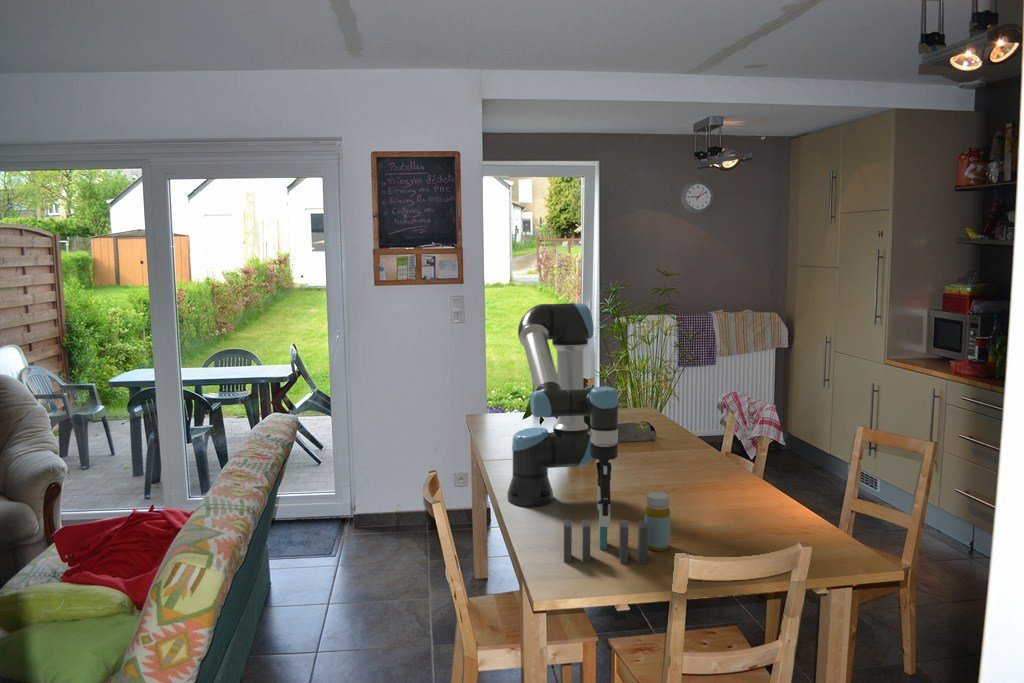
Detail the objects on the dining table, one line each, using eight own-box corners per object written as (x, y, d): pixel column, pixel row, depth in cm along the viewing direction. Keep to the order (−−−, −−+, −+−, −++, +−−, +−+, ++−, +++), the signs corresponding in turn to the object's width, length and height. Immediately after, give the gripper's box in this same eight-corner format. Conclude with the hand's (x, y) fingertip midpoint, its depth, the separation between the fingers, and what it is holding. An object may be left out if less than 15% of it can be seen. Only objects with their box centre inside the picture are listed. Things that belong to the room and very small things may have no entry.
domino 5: (639, 563, 203) (639, 527, 202) (637, 556, 208) (638, 520, 207) (647, 563, 203) (647, 527, 202) (644, 556, 208) (645, 520, 207)
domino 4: (620, 563, 204) (620, 527, 202) (619, 555, 209) (619, 520, 207) (628, 563, 203) (628, 527, 202) (626, 555, 208) (626, 520, 207)
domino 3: (599, 549, 213) (600, 514, 212) (599, 542, 218) (599, 508, 216) (607, 549, 213) (607, 515, 211) (606, 542, 218) (606, 508, 216)
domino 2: (582, 562, 204) (582, 526, 203) (582, 555, 209) (582, 519, 208) (590, 562, 204) (590, 526, 203) (589, 555, 209) (589, 520, 208)
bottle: (666, 541, 218) (667, 490, 216) (672, 551, 211) (673, 499, 209) (641, 542, 218) (642, 491, 216) (647, 552, 211) (647, 499, 209)
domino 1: (563, 562, 205) (564, 526, 203) (563, 554, 210) (564, 519, 208) (571, 562, 204) (571, 526, 203) (571, 554, 209) (571, 519, 208)
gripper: (588, 432, 224) (588, 503, 226) (592, 455, 199) (591, 533, 202) (614, 432, 223) (614, 503, 226) (621, 455, 199) (620, 534, 201)
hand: (603, 517), depth 214 cm, fingers open, 13 cm apart
